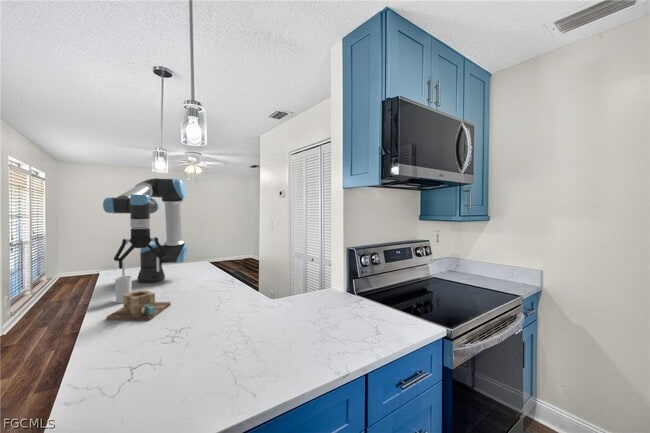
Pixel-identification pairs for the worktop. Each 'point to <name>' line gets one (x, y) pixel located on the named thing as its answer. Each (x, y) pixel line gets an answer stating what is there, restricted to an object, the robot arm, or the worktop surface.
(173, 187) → the robot arm
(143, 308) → the dowel
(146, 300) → the hollow wooden frame
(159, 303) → the base board
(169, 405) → the worktop surface
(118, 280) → the mug
